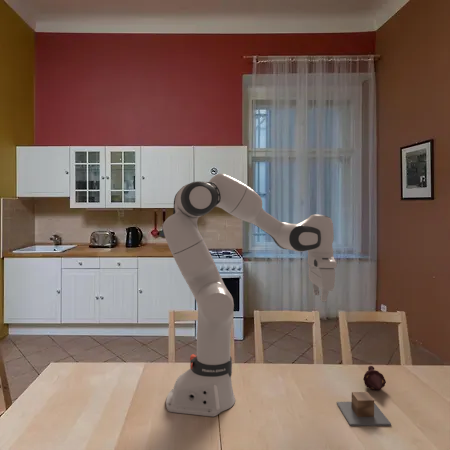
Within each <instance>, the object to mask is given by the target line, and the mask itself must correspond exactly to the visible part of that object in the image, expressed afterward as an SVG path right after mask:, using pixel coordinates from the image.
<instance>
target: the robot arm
mask: <svg viewBox="0 0 450 450" xmlns="http://www.w3.org/2000/svg"><path fill="white" fill-rule="evenodd" d="M215 208H220V209H221V210H223V211H225V212H226V213H228V214H229V215H231V216H233V217H234V218H236V219H239V220H240V221H241V220H242V221H243V222H246V223H250V224H252V225H254V226H255V227H256V228H258V229H260V230H262V231H263V232H264V233H266V234H268V235H269V237H271V239H272V240H273V242H274V243H275V244H276V246H277V247H279V248H280V249H283V250H288V251H289V250H291V251H294V252H299V253H300V252H302V253H303V252H306V251H307V265H308V281H310V282H311V283H312V290H313V295H314V296H319V295H320V292H321V295H320V301H321V302H323V303H327V301H328V295H329V292H332V291H334V289H335V281H336V269H337V265H338V263H337V261H336V259H335V257H334V248H333V243H334V237H335V236H334V223H333V220H332V218H331V217H330V216H327V215H323V214H318V213H316V214H315V213H314V214H311V215H309V217H307V218H306V219H305V220H302V221H301V222H298V223H290V222H283V221H280V220H279V219H277V218H276V217H274V216H272V215H271V214H270V213H268V212H267V211H265V210H264V208H263V199H262V196H261V195H259V194H258V193H257V192H256V191H255V190H254V189H252V188H251V187H250V186H248V185H247V184H245V183H243V182H242V181H240V180H238V179H236V178H234V177H231V176H230V175H227V174H225V173H218V174H215V175H214V176H212V177H211V178H210V180H209V181H192V182H190V183H187V184H185V185H184V186H182V187H181V188H180V189H179V190H178V191H177V193H176V194H175V195H174V199H173V209H172V211H173V212H172V214H171V215H169V216H168V217H167V218H165V221H164V222H163V224H162V231H163V235H164V239H165V240H166V241H165V242H166V244H167V246H168V249H169V250H170V252H171V255H172V256H173V259H174V261H175V263H176V265H177V267H178V269H179V271H180V272H181V275H182V277H183V279H184V280H185V282H186V284H187V286H188V287H189V289H190V292H191V294H192V296H193V297H194V299H195V301H196V304H197V326H196V327H197V328H196V329H197V330H196V354H194V353H193V354H191V355H190V358H189V361H190V364H189V365H190V368H189V369H188V370H186V371H184V372H182V374H180V375H179V376H178V377H177V379H176V380H175V383H174V384H173V385H174V386H173V388H172V389H170V391H169V392H168V394H167V396H166V399H165V407H166V408H165V409H166V410H167V411H168V412H170V413H178V414H184V415H185V414H186V415H195V416H204V417H217V416H218V415H219V414H220V413H221V412H222V413H223V412H224V411H227V410H228V409H230V408H232V407H233V405H235V403H236V397H235V394H234V389H233V383H232V382H233V381H232V374H233V361H232V360H233V359H232V356H231V340H232V339H231V338H232V337H231V336H232V335H231V334H232V333H231V332H232V327H233V318H234V317H233V316H234V307H235V304H234V298H233V296H232V294H231V293H230V291H229V290H228V288H227V286H226V285H225V282H224V280H223V278H222V275H220V272H219V270H218V267H217V266H216V263H215V261H214V258H213V257H212V254H211V252H210V250H209V248H208V246H207V244H206V242H205V239H204V237H203V236H202V234H201V232H200V230H199V226H198V220H199V218H200V217H203V216H206V215H207V214H209V213H210V212H212V210H213V209H215Z"/></svg>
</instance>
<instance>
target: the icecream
mask: <svg viewBox="0 0 450 450" xmlns="http://www.w3.org/2000/svg"><path fill="white" fill-rule="evenodd" d="M363 383H364V386H365V387H367V388H368V389H370V391H381V390H382V389H383V388H384V387H385V386H386V383H387V381H386V378H385V376H384V375H383V374H382V373H381V372H379V371H378V370H375V367H374V366H373V365H369V366H368V367H367V370H366V372H365V374H364V375H363Z"/></svg>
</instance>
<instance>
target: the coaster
mask: <svg viewBox="0 0 450 450" xmlns="http://www.w3.org/2000/svg"><path fill="white" fill-rule="evenodd" d="M351 404H352V401H336V405H337V407H338V408H339V410H340V411H341V413H342V415H343V416H344V418H345V420H346V422H347V423H348V425H349V427H356V426H357V427H365V426H366V427H367V426H368V427H376V426H377V427H378V426H379V427H380V426H386V427H391V426H392V423H391V421H389V419H388V418H387V417H386V415H385V414H384V413H383V411H382V410H381V409H380V407H379V406H378V405H377V403H376V402H374V417H357V415H356V414H355V412H354V411H353V409H352V408H351Z"/></svg>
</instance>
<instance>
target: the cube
mask: <svg viewBox="0 0 450 450" xmlns="http://www.w3.org/2000/svg"><path fill="white" fill-rule="evenodd" d="M351 402H352V404H351V408H352V409H353V411H354V412H355V414H356V415H357V417H374V403H375V399H374V398H373V397H372V395H371V394H370V393H369V391H351Z"/></svg>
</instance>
